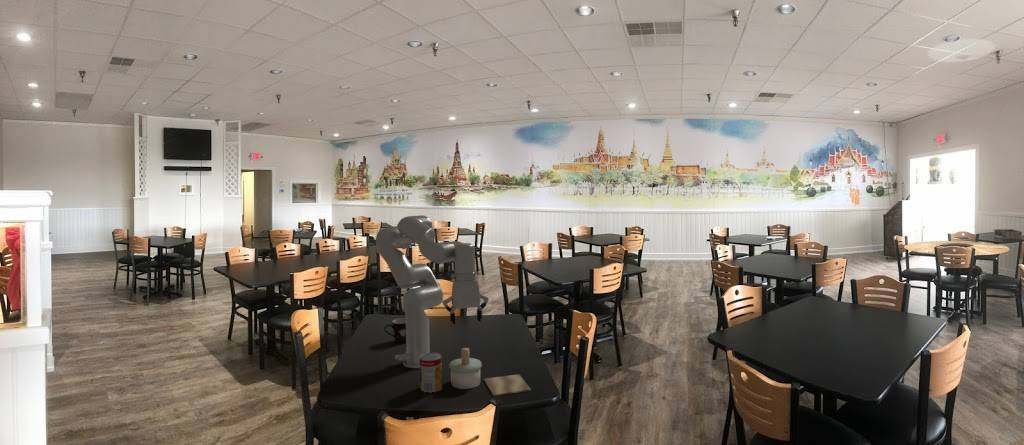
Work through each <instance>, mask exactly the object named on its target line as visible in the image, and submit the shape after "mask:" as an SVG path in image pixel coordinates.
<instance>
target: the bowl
mask: <svg viewBox="0 0 1024 445" xmlns="http://www.w3.org/2000/svg"><path fill="white" fill-rule="evenodd" d="M480 384H481V368H480V369H479V370H477V371H474V372H468V373H460V372H455V371H452V370H451V369H450V385H451V387H453V388H456V389H460V390H469V389H474V388H476V387H478V386H480Z"/></svg>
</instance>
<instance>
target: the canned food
mask: <svg viewBox="0 0 1024 445" xmlns="http://www.w3.org/2000/svg"><path fill="white" fill-rule="evenodd" d="M442 361H443V360H442V354H441V353H439V352H430V353H425V354H422V355H421V356H420V368H419V386H420V387H419V390H420V389H421V390H422V391H424V392H423V393H425V392H429V393H428V394H433V393H432V392H434V393H437V391H438V392H439V391H441V390H442V389H443V369H442V368H443V365H442V364H443V362H442ZM421 390H420V391H421ZM422 391H421V392H422Z"/></svg>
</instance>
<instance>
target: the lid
mask: <svg viewBox="0 0 1024 445" xmlns="http://www.w3.org/2000/svg"><path fill="white" fill-rule="evenodd" d="M448 365H449V369H450V371H451V370H452V371H455V372H460V373H468V372H474V371H477V370H479V369H480V370H481V368H482V366H483V364H482V361H481V360H480V359H477V358H473V357H470V348H469V347H463V348H461V358H456V359H453V360H451V361H450V362H449V364H448Z"/></svg>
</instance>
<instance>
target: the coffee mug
mask: <svg viewBox="0 0 1024 445" xmlns="http://www.w3.org/2000/svg"><path fill="white" fill-rule="evenodd" d="M391 322H392V324H387V325H385V326H384V329H383V330H384V331H385V333H386V334H387V335H389V336H392V337H393V338H394V342H395V344H397V343H399V345H403V343H404V344H406V318H404V317H402V318H400V317H399V318H395V319H393V320H392V321H391ZM387 327H391V328H392V329H393V334H392V333H390V332H388V331H387V330H386V329H387Z"/></svg>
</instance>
